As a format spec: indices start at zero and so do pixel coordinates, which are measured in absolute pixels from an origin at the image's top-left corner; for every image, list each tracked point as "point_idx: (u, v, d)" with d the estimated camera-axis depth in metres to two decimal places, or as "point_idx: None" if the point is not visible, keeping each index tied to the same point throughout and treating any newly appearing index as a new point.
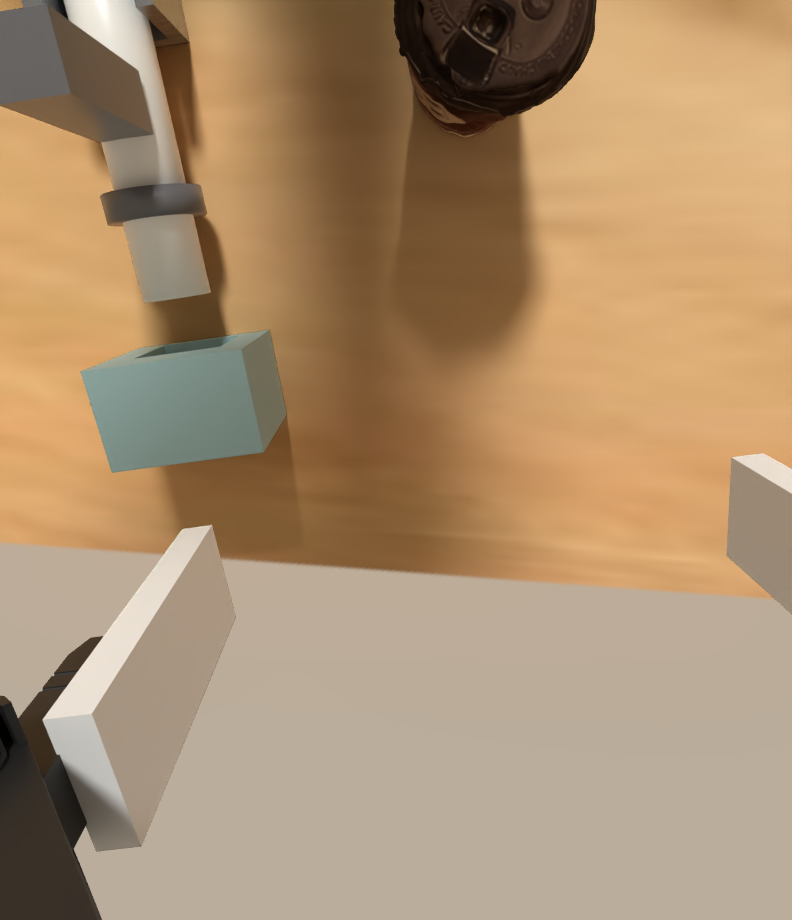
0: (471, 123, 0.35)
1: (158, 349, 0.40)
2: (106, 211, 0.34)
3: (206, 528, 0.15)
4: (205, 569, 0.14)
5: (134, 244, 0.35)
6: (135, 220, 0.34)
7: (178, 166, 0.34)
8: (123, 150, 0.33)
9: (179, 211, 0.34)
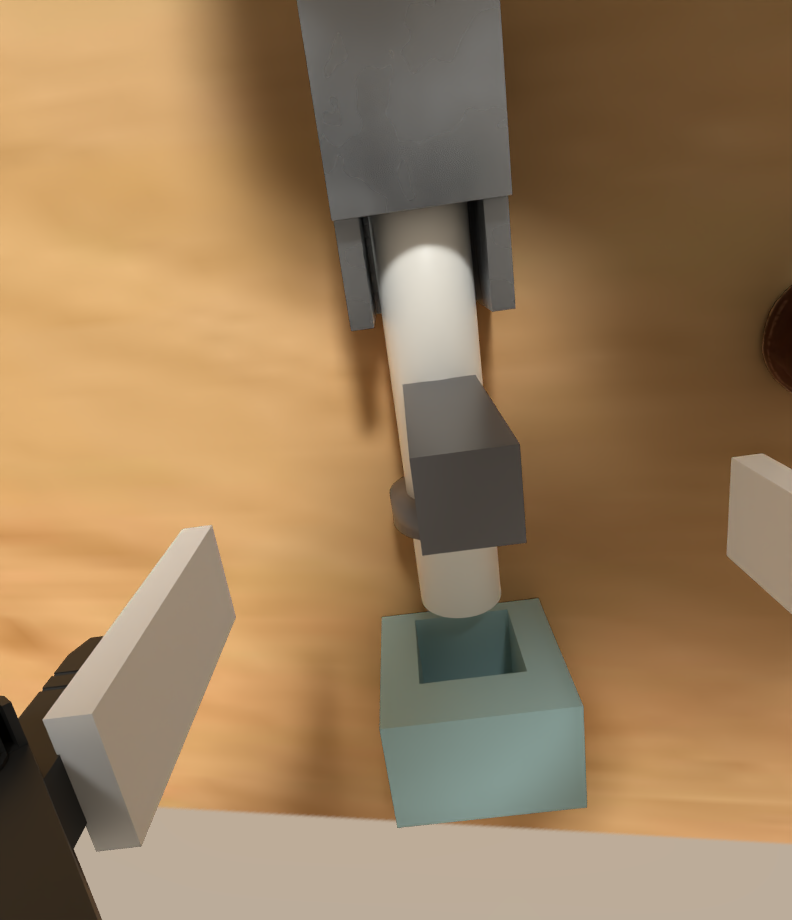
0: None
1: (416, 633, 0.33)
2: (406, 524, 0.27)
3: (206, 528, 0.15)
4: (205, 569, 0.14)
5: (433, 556, 0.28)
6: None
7: None
8: None
9: None
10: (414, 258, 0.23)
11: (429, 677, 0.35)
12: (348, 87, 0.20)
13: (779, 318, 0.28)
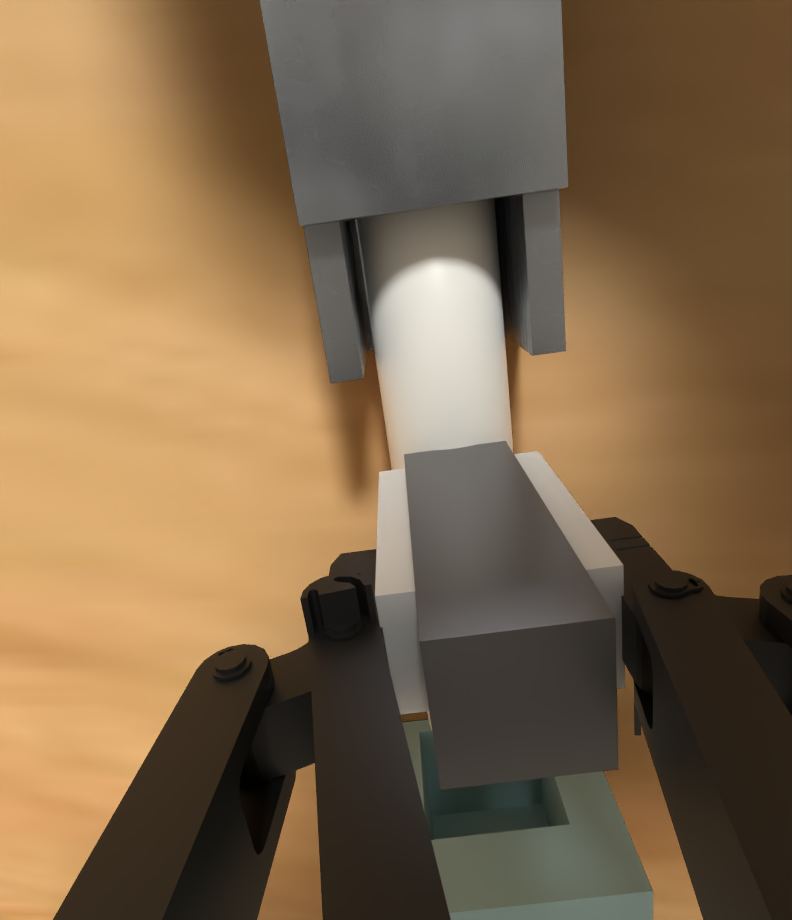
0: None
1: (420, 752, 0.26)
2: None
3: (402, 470, 0.17)
4: None
5: None
6: None
7: None
8: None
9: None
10: (421, 280, 0.16)
11: (437, 798, 0.28)
12: (321, 22, 0.13)
13: None
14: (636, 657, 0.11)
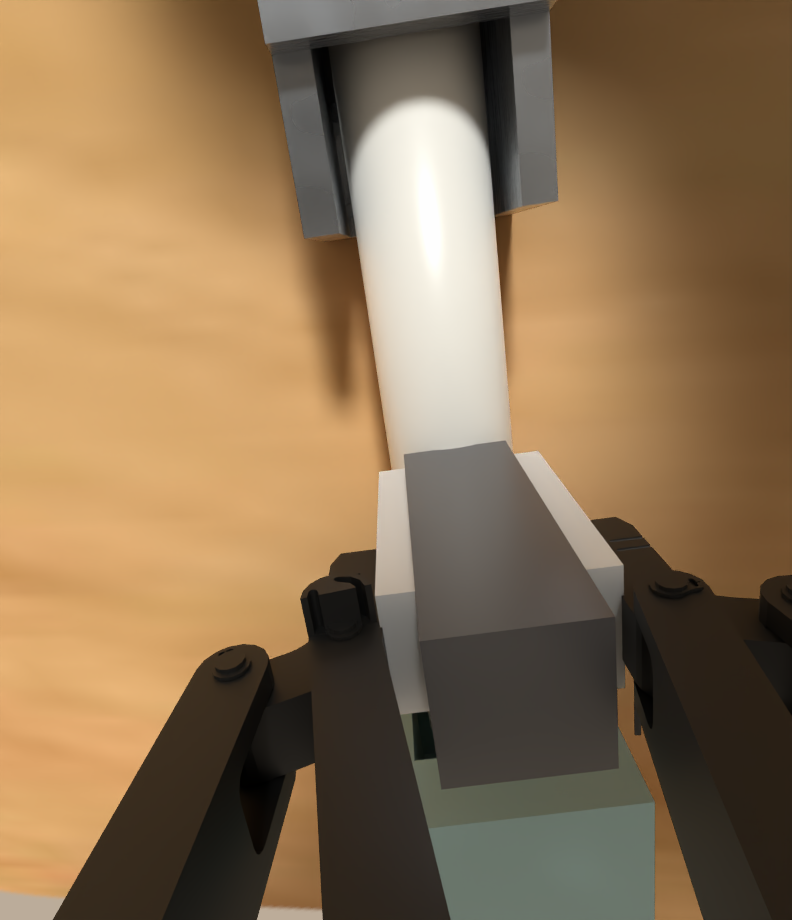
0: None
1: None
2: None
3: (402, 470, 0.17)
4: None
5: None
6: None
7: None
8: None
9: None
10: (420, 279, 0.16)
11: (428, 735, 0.27)
12: None
13: None
14: (636, 657, 0.11)
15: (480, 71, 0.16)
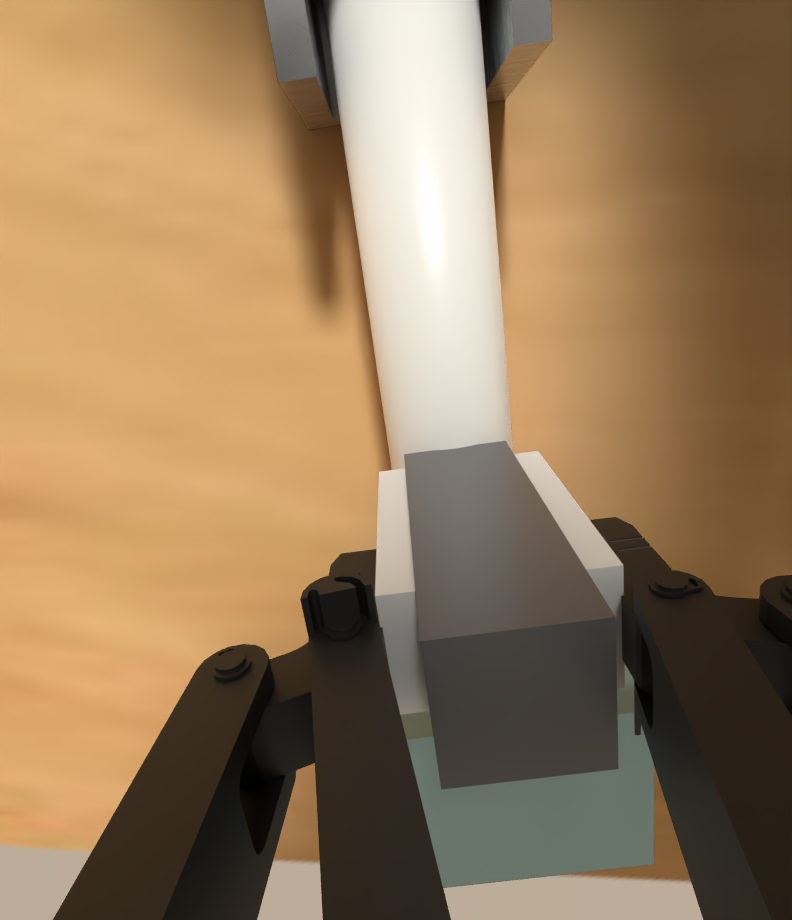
0: None
1: None
2: None
3: (402, 470, 0.17)
4: None
5: None
6: None
7: None
8: None
9: None
10: (421, 280, 0.16)
11: None
12: None
13: None
14: (636, 657, 0.11)
15: (481, 71, 0.16)
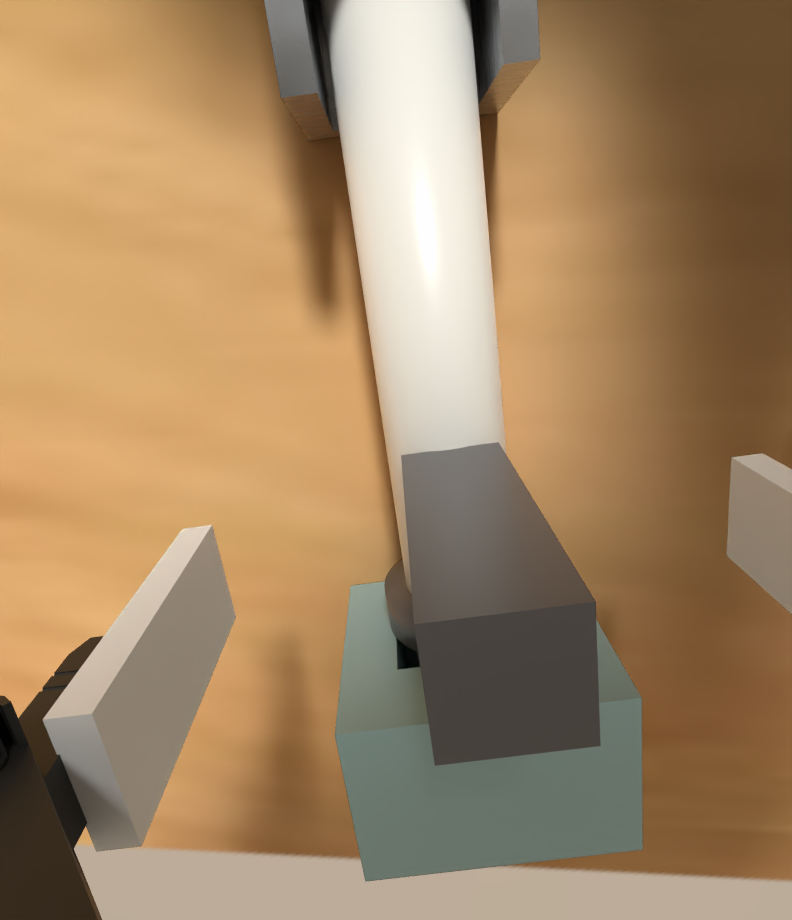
0: None
1: None
2: (406, 632, 0.21)
3: (206, 528, 0.15)
4: (205, 569, 0.14)
5: None
6: None
7: None
8: None
9: None
10: (417, 289, 0.17)
11: (415, 667, 0.26)
12: None
13: None
14: None
15: (474, 91, 0.16)
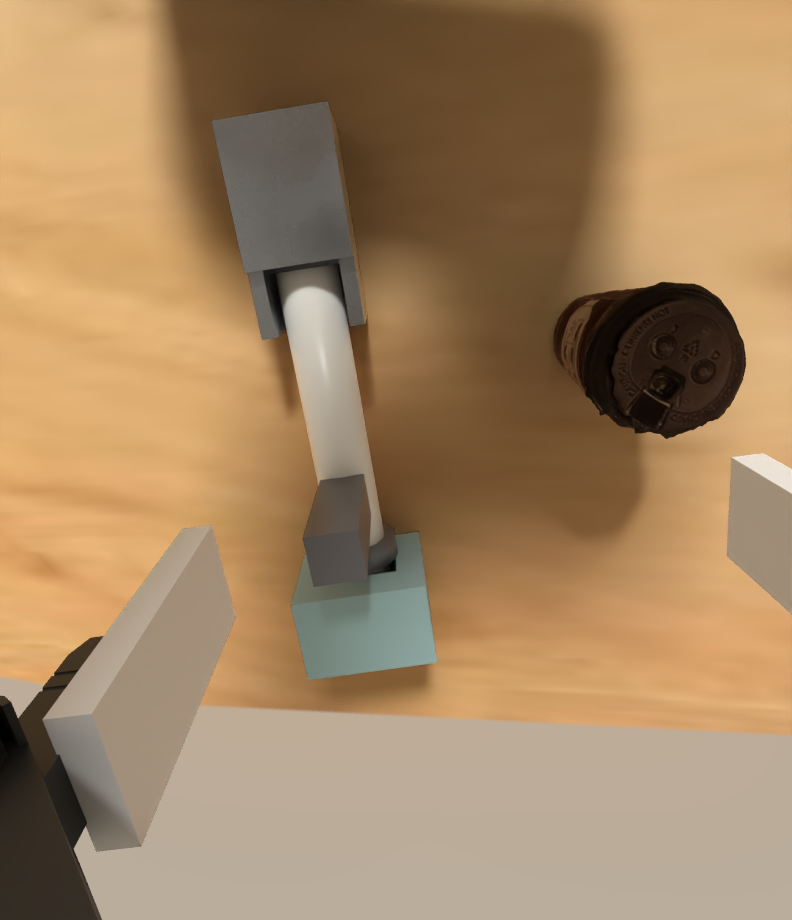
0: None
1: None
2: None
3: (206, 528, 0.15)
4: (205, 569, 0.14)
5: None
6: None
7: (381, 522, 0.44)
8: None
9: (386, 565, 0.43)
10: (322, 409, 0.39)
11: None
12: (250, 196, 0.34)
13: (559, 328, 0.42)
14: None
15: (344, 327, 0.39)
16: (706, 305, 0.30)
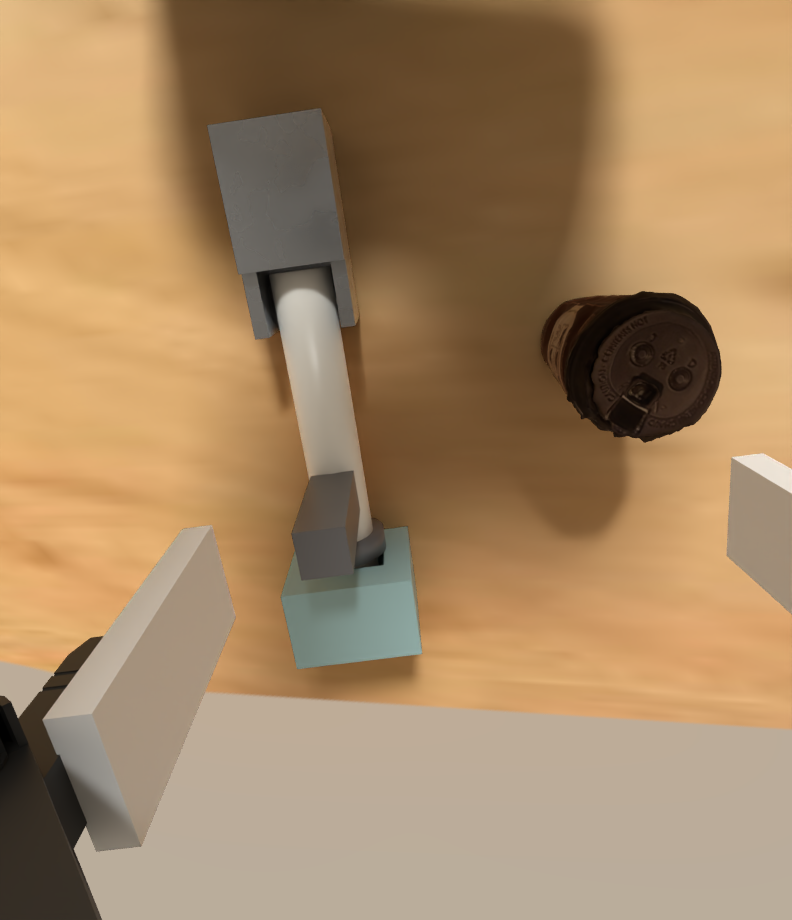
0: None
1: None
2: None
3: (206, 528, 0.15)
4: (205, 569, 0.14)
5: None
6: None
7: (370, 517, 0.45)
8: None
9: (374, 559, 0.44)
10: (314, 407, 0.40)
11: None
12: (244, 200, 0.35)
13: (546, 331, 0.43)
14: None
15: (336, 327, 0.40)
16: (684, 315, 0.31)
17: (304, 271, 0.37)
